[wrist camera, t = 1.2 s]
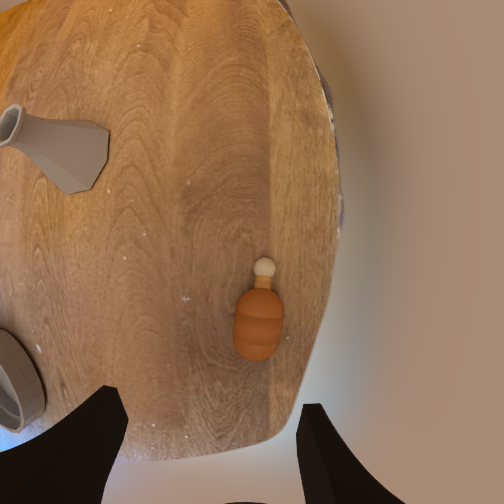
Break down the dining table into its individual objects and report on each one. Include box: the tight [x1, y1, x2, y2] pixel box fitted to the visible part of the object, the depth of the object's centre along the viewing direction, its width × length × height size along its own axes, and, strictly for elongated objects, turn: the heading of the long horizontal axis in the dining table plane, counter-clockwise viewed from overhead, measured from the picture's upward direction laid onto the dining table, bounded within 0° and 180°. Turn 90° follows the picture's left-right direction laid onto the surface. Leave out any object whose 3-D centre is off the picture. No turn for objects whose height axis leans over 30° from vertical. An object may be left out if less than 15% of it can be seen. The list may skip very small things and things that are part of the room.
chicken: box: [233, 257, 284, 361], centre depth 20 cm, size 8×3×3 cm, turn 173°
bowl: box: [0, 329, 45, 433], centre depth 20 cm, size 12×12×5 cm
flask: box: [0, 103, 109, 194], centre depth 17 cm, size 7×7×10 cm
